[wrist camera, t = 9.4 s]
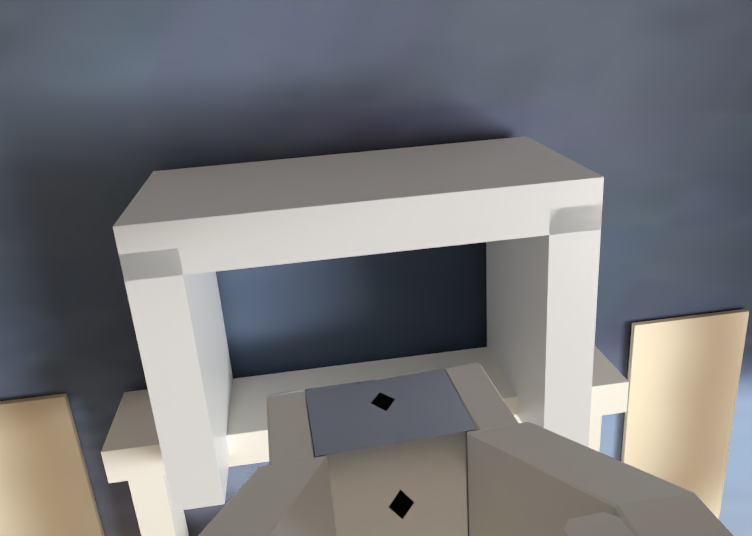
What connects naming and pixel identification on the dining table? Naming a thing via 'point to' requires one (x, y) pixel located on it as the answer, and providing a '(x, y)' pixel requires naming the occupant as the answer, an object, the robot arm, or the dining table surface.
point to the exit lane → (639, 448)
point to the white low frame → (338, 240)
